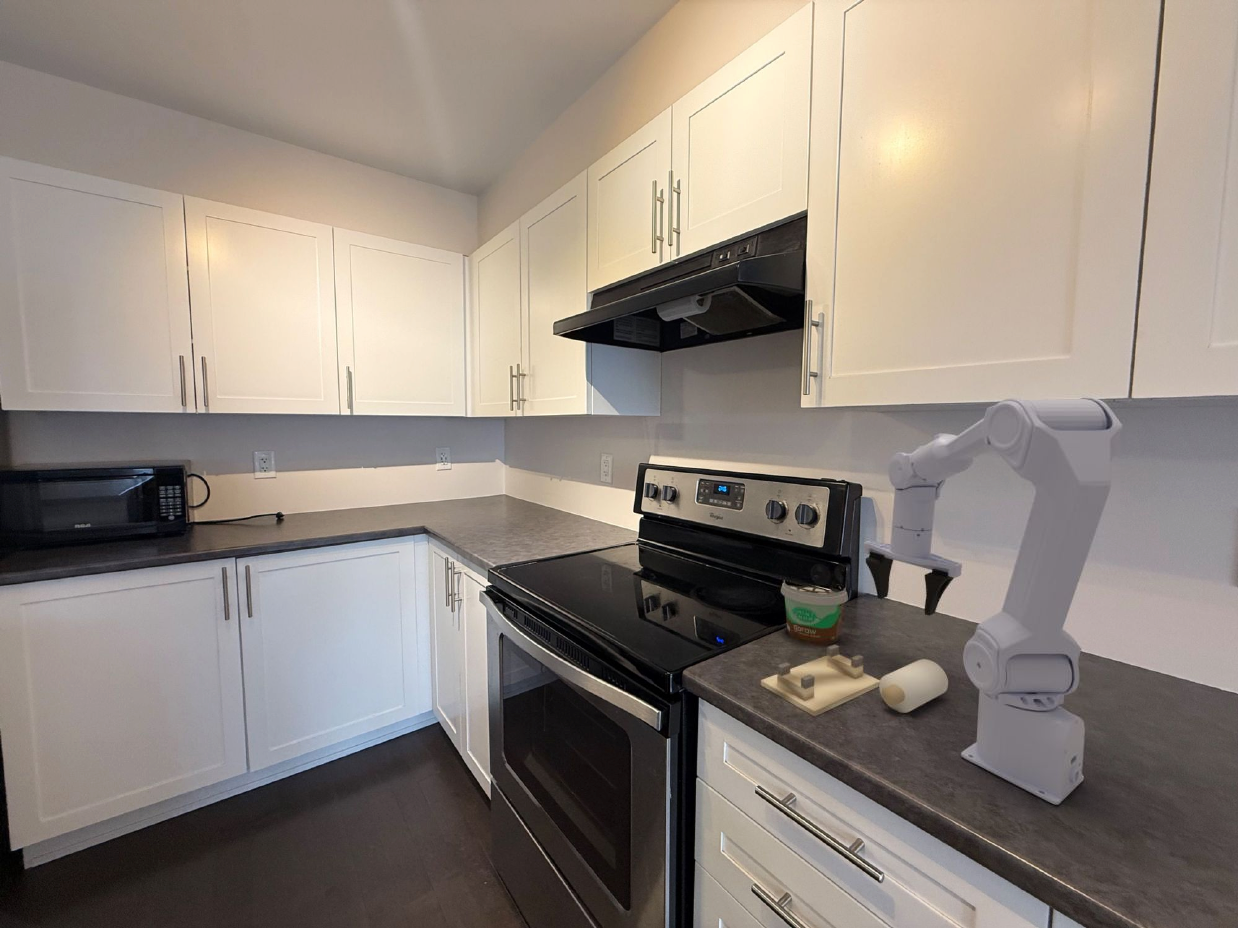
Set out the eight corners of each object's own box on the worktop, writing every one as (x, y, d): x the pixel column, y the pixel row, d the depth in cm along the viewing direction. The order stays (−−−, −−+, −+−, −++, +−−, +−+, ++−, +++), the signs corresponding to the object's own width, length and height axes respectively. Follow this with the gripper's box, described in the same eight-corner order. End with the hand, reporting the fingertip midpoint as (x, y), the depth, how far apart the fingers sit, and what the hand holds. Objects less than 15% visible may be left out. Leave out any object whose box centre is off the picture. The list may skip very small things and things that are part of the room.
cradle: (880, 685, 78) (881, 661, 78) (814, 716, 70) (815, 689, 70) (825, 660, 87) (826, 637, 87) (760, 684, 79) (761, 660, 78)
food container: (774, 639, 96) (775, 588, 95) (780, 627, 101) (781, 579, 100) (844, 652, 90) (846, 598, 89) (846, 639, 95) (848, 588, 95)
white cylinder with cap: (953, 697, 75) (954, 664, 75) (907, 723, 69) (909, 687, 68) (917, 682, 79) (919, 651, 79) (871, 705, 73) (873, 671, 73)
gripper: (973, 532, 77) (964, 614, 79) (880, 513, 89) (875, 585, 91) (953, 540, 73) (944, 626, 75) (858, 519, 85) (853, 594, 87)
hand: (905, 604), depth 83 cm, fingers open, 7 cm apart
